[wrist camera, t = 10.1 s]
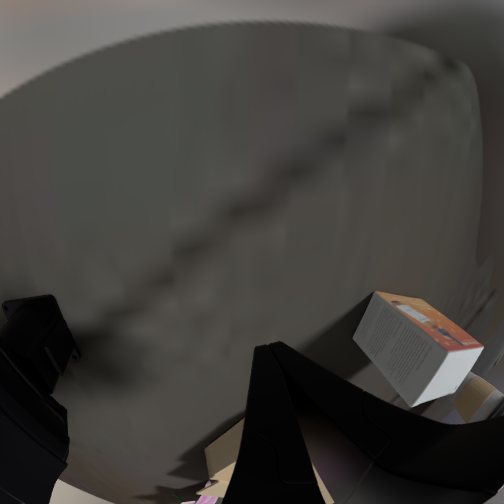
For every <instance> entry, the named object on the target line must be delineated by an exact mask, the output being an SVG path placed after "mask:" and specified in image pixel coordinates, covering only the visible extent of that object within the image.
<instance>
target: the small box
mask: <svg viewBox="0 0 504 504" xmlns="http://www.w3.org/2000/svg"><path fill="white" fill-rule="evenodd" d="M353 340H354V341H355V342H356V343H357V345H358V346H359V347H360V348H361V349H362V350H363V352H364V353H365V354H366V355H367V356H368V357H369V359H370V360H371V361H372V362H373V363H374V365H375V366H376V367H377V368H378V369H379V371H380V372H381V373H382V374H383V375H384V377H385V378H386V379H387V380H388V381H389V382H390V384H391V385H392V386H393V387H394V388H395V390H396V391H397V392H398V393H399V394H400V396H401V397H402V398H403V399H404V400H405V402H406V403H407V404H408V405H409V406H410V407H414V406H417V405H418V404H421V403H424V402H427V401H430V400H433V399H436V398H439V397H442V396H445V395H448V394H452V393H454V392H455V391H456V390H457V388H458V387H459V385H460V384H461V383H462V381H463V380H464V378H465V377H466V375H467V374H468V372H469V371H470V369H471V368H472V366H473V365H474V363H475V361H476V360H477V358H478V357H479V355H480V353H481V351H482V350H483V348H484V346H483V345H481V344H480V343H479V342H478V341H476V340H475V339H474V338H472V337H471V336H470V335H469V334H467V333H466V332H465V331H464V330H462V329H461V328H460V327H458V326H457V325H456V324H454V323H453V322H452V321H450V320H449V319H448V318H446V317H445V316H444V315H442V314H441V313H440V312H438V311H437V310H436V309H434V308H433V307H432V306H430V305H429V304H427V303H426V302H425V301H423V300H422V299H419V298H411V297H405V296H399V295H394V294H389V293H383V292H378V291H374V293H373V296H372V298H371V300H370V302H369V305H368V307H367V309H366V311H365V313H364V315H363V318H362V320H361V322H360V324H359V326H358V328H357V330H356V332H355V334H354V336H353Z"/></svg>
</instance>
